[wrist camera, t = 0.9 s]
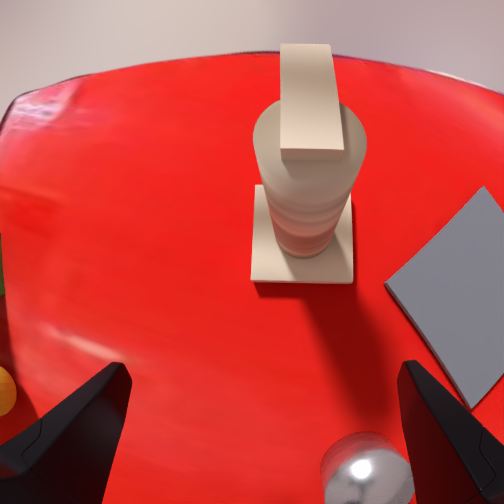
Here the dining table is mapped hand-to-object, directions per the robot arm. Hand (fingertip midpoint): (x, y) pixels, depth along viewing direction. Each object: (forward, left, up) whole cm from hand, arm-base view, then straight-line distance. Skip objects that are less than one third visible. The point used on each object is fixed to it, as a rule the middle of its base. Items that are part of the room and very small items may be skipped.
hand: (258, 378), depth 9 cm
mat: (-8, -15, -13) cm, 21 cm away
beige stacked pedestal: (+5, -6, -13) cm, 15 cm away
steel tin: (-12, +1, -13) cm, 18 cm away
